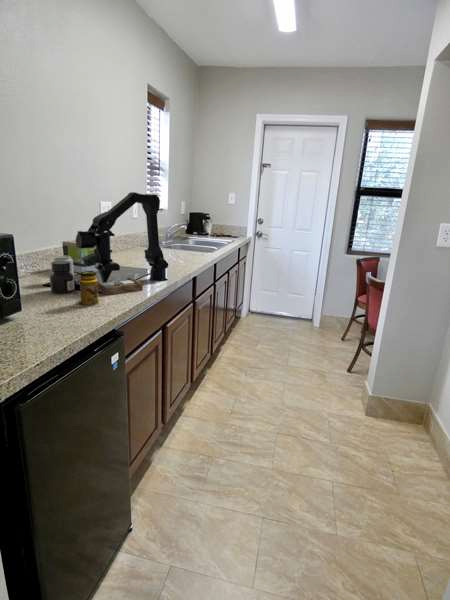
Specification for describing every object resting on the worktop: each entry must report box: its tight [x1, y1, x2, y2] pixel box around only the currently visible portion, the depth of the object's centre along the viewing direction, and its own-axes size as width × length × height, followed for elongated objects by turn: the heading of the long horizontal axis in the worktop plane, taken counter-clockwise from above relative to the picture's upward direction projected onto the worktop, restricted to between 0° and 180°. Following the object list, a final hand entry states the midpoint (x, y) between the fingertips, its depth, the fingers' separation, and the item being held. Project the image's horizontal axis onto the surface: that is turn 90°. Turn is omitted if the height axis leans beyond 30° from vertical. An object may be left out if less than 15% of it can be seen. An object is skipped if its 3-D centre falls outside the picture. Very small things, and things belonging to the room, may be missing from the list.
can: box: [53, 254, 75, 276], centre depth 153 cm, size 8×8×12 cm
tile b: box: [99, 281, 115, 288], centre depth 148 cm, size 5×5×3 cm
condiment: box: [73, 271, 101, 308], centre depth 127 cm, size 7×8×12 cm
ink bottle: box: [49, 260, 76, 295], centre depth 141 cm, size 10×9×12 cm
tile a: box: [118, 279, 135, 286], centre depth 152 cm, size 5×5×3 cm
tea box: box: [62, 240, 99, 274], centre depth 178 cm, size 15×10×15 cm, turn 58°
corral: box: [98, 277, 143, 296], centre depth 149 cm, size 16×12×3 cm
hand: (104, 283), depth 151 cm, fingers closed
